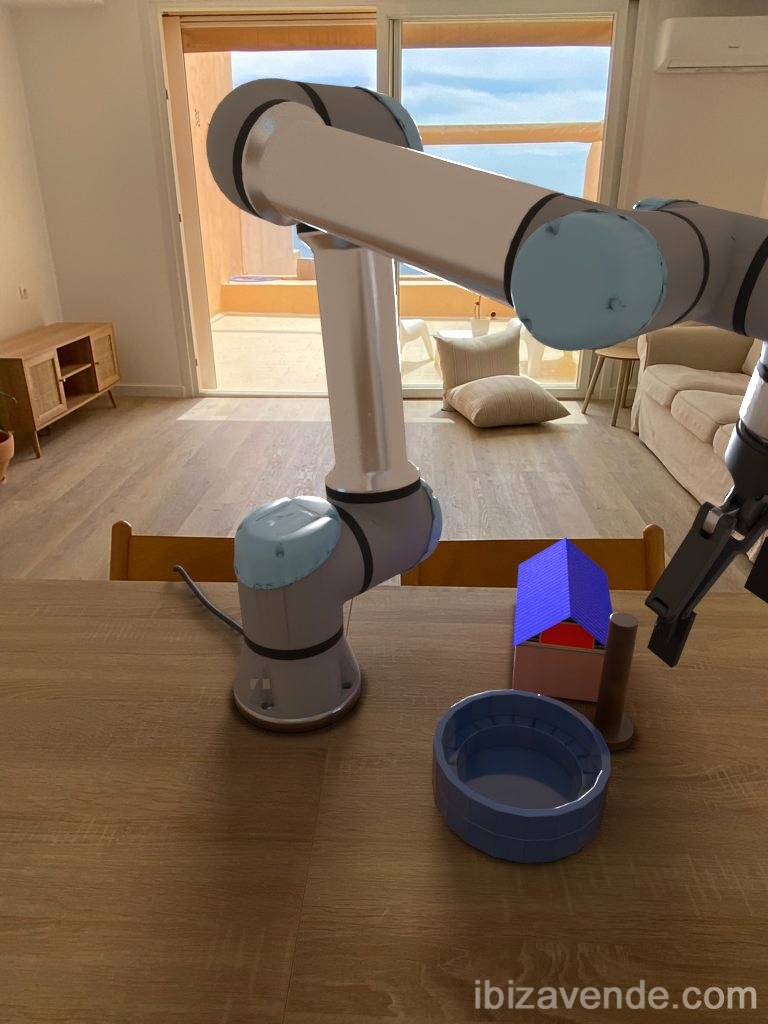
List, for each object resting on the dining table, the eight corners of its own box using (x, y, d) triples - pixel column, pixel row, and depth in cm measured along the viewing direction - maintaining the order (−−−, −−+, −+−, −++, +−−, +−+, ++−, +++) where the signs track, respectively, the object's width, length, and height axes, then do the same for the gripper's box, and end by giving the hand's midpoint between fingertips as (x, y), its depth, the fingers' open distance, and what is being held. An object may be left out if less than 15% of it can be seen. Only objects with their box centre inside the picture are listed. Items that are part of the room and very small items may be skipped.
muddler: (569, 722, 79) (584, 611, 73) (610, 710, 81) (628, 600, 74) (600, 756, 74) (619, 640, 68) (643, 742, 76) (665, 628, 70)
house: (509, 692, 84) (516, 610, 79) (515, 604, 101) (521, 533, 97) (612, 705, 81) (626, 622, 77) (600, 613, 99) (611, 541, 94)
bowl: (406, 761, 74) (407, 713, 71) (540, 720, 79) (545, 674, 76) (482, 894, 60) (486, 841, 57) (638, 834, 65) (649, 783, 62)
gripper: (727, 517, 43) (651, 716, 57) (937, 401, 53) (830, 593, 67) (633, 460, 48) (584, 655, 62) (842, 363, 58) (760, 549, 72)
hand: (712, 624), depth 64 cm, fingers open, 13 cm apart
